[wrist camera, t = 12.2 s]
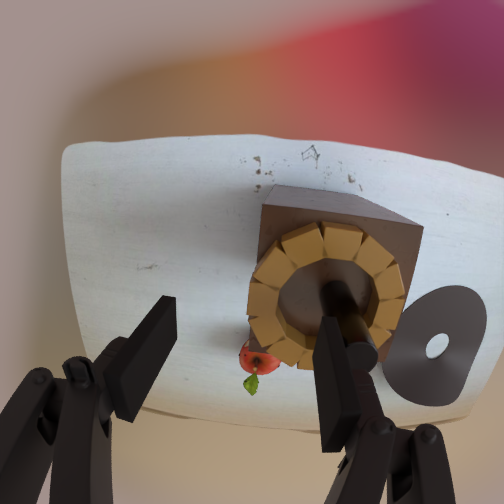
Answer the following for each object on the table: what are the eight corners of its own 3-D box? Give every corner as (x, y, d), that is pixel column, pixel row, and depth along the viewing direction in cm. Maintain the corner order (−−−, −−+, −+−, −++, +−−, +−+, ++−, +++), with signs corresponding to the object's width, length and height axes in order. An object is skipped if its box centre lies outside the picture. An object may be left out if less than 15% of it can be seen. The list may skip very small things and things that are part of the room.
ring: (259, 212, 20) (256, 217, 18) (409, 234, 19) (420, 241, 17) (245, 347, 23) (241, 362, 21) (372, 359, 22) (378, 374, 20)
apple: (240, 324, 47) (229, 360, 38) (281, 321, 46) (279, 358, 37) (247, 360, 50) (238, 398, 40) (285, 358, 48) (284, 397, 39)
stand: (274, 184, 40) (262, 203, 19) (357, 195, 39) (424, 226, 18) (266, 264, 44) (247, 351, 23) (344, 273, 43) (384, 362, 22)
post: (322, 278, 20) (339, 340, 13) (353, 281, 20) (384, 343, 13) (316, 307, 21) (328, 378, 14) (347, 310, 21) (370, 379, 13)
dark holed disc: (502, 296, 40) (529, 317, 31) (461, 377, 46) (478, 404, 37) (411, 273, 42) (436, 298, 32) (369, 371, 48) (380, 406, 39)
